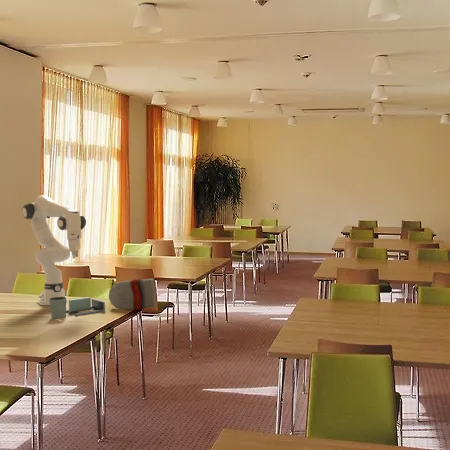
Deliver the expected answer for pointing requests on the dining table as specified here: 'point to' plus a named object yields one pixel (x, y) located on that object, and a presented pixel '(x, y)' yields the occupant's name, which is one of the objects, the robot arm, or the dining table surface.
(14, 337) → the dining table surface
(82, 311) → the offcut walnut
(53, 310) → the grey-green bin
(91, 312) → the offcut rack
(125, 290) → the decorative stone tablet
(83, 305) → the teal sheet
